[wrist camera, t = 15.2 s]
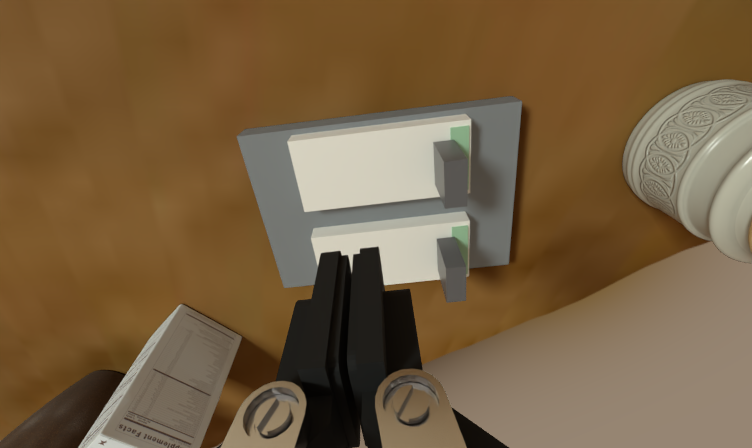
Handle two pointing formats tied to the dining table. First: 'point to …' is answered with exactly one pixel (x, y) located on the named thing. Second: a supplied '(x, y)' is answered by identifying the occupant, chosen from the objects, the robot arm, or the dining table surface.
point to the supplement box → (169, 387)
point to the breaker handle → (451, 269)
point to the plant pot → (66, 414)
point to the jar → (699, 162)
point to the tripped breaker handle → (451, 174)
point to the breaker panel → (479, 201)
